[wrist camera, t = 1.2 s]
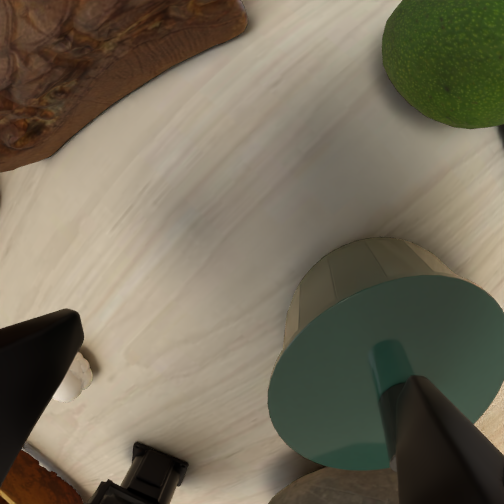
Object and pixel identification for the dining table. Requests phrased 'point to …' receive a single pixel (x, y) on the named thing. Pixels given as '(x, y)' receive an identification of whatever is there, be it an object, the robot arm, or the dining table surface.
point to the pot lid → (384, 365)
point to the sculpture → (91, 60)
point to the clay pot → (35, 484)
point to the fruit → (448, 59)
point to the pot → (355, 273)
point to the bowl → (341, 488)
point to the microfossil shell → (74, 380)
